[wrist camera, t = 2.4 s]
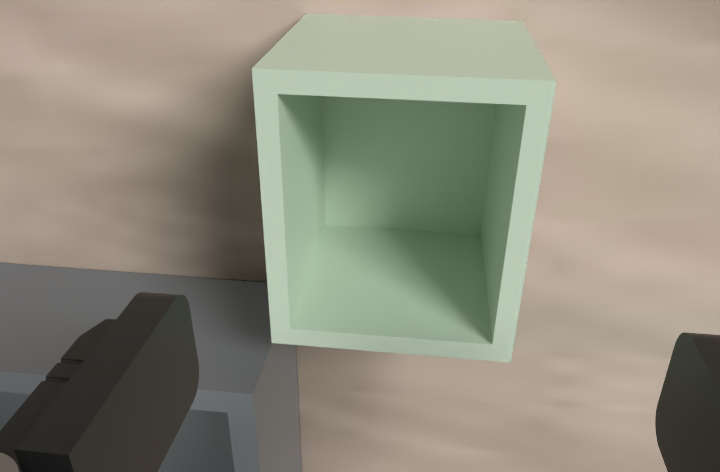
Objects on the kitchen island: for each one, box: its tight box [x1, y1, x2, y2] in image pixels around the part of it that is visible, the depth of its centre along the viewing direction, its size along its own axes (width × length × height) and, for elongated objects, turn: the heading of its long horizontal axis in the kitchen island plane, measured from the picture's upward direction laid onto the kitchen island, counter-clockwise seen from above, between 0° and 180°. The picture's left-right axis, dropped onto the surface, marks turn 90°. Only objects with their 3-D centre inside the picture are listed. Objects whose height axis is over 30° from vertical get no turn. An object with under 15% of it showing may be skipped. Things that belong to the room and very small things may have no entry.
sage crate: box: [252, 14, 557, 362], centre depth 17 cm, size 6×7×6 cm
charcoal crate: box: [0, 263, 302, 472], centre depth 24 cm, size 15×15×6 cm
